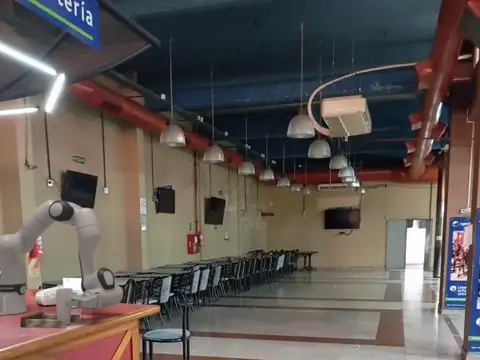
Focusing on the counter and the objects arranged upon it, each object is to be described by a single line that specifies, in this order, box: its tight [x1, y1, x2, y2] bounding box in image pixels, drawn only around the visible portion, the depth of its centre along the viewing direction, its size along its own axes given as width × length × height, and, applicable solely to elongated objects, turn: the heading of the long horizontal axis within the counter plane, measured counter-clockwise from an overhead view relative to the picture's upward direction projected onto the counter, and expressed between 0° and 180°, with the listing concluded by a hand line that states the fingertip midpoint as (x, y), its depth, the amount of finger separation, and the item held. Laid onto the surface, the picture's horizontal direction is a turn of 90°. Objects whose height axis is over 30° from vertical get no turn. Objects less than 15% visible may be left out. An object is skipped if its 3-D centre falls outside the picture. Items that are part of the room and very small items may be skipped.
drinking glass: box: [55, 287, 74, 326], centre depth 196 cm, size 7×7×15 cm
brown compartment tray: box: [19, 311, 81, 329], centre depth 197 cm, size 20×13×4 cm, turn 81°
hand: (62, 303), depth 196 cm, fingers closed on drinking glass, 6 cm apart
